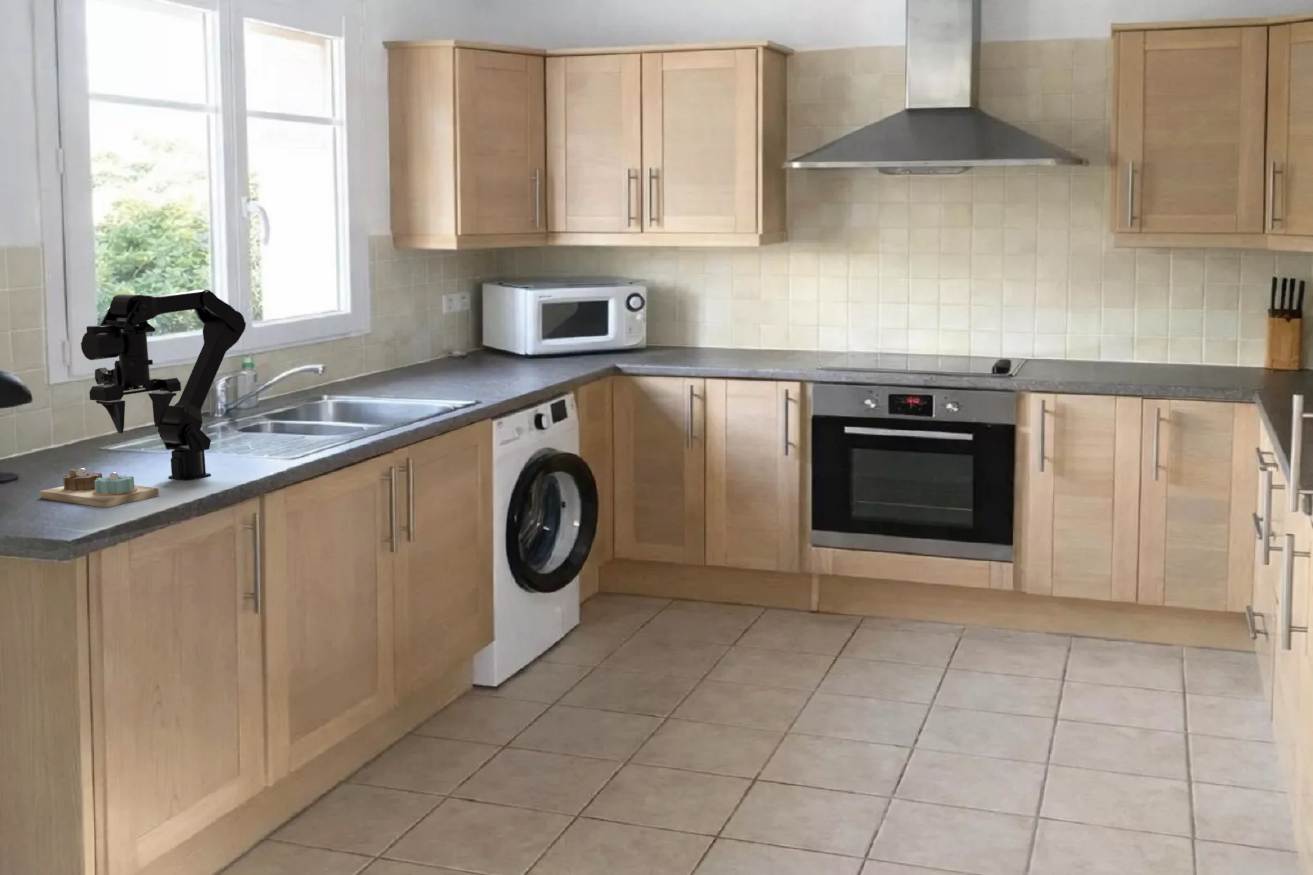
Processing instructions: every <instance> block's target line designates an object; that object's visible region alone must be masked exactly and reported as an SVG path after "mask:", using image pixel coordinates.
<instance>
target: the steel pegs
mask: <svg viewBox="0 0 1313 875" xmlns="http://www.w3.org/2000/svg"><path fill="white" fill-rule="evenodd" d="M77 473H78V477H83V476H87V473H88V472H87V470H86V468H84V467H82V468H80V469H78V471H77ZM109 476H110V480H117V479H118V476H119V474H118V473H117V472H114V471H113V472H111V473H109Z"/></svg>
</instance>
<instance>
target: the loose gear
mask: <svg viewBox="0 0 1313 875" xmlns="http://www.w3.org/2000/svg"><path fill="white" fill-rule="evenodd" d="M134 478H135V477H134V476H133V475H127V474H124V475H123V474H122V475H121V474H120V475H118V479H117V480H110V475H108V476H107V475H106V476H105V477H102V478H97V479H96V480H95V492H96V493H97V494H98V493H103V494H121V493H123V492H131V491H133V489H135V488H134V485H135V479H134Z"/></svg>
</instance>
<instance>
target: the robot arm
mask: <svg viewBox="0 0 1313 875" xmlns="http://www.w3.org/2000/svg"><path fill="white" fill-rule="evenodd" d="M192 310H194V311H195V314H196V316H197V319H198V320H199V321H200V322H201V323H202V324H203V328H202V337H203V345H202V347H201V350H200V352H199V354H198V356H197V359H196V361H195V363H194V366H193V368H192V371H191V373H190V375H189V378H188V379H187V382H186V383H185V386H184V388H183V391H182V385H181V381H180V380H179V378H178V377H173V376H172V377H171V376H161V377H150V376H151V375H150V366H151V365H154V362H153V361H154V360H153V359H149V350H148V337H147V336H148V335H147V333H154V332H156V328H155V327H154V326H152V325H151V324H150V323H149V322H148V321H150V320H153V319H154V318H156V317H157V316H159V315H162V314H169V313H176V312H177V313H178V312H184V311H192ZM246 326H247V323H246V322H245V317H244V315H243V314H242V313H241V312H240V311H239V310H235V308H234V307H233V306H232V305H230V304H228V303H226V302H225V301H223V300H222V299H221V298H219V297H218V296H217V295H216V294H215V293H213V292H212V291H211V290H209V289H193V290H190V291H183V292H175V293H167V294H159V295H146V294H117V295H114V296H113V297H112V300H111V301H110V306H109V308H108V310H107V312H106V314H105V315H104V317H103V319H102V320H101V323H100V325H88V326H86V332H85V333H84V334H83V336H82V339H81V342H80V348H81V352H82V354H83V356H84V357H85V358H86V359H87V360H89V361H95V360H104V359H105V360H106V359H112V358H118V360H114V368H113V369H108V368H107V367H98V368H97V369H95V370H94V379H95V383H96V384H97V385H93V386H91V388H90V390H89V400H90V401H95V403H96V404H100V405H101V406H102V407H104V408H105V409H106V411H107V413H108V414H109V416H110V418H111V420H112V423H113V425H114V427H115V428H116V431H117V433H118V434H123V433H124V428H125V415H126V414H125V413H126V412H125V411H126V410H125V409H126V400H122V399H123V397H124V396H127V395H131V394H132V395H133V394H139V393H146V392H148V393H147V395H148V396H149V398H150V400H151V402H152V414H153V422H154V427H156V428H157V433H159V434H158V435H159V437H160V439H161V440H162V442H163V445H164V447H165V449H166V450H171V457H170V468H171V469H170V472H171V475H168V476H167V477H168V479H171V480H179V481H193V480H198V479H202V478H207V477H211V476H212V473H208V472H207V470H206V469H207V468H206V456H205V451H206V450H210V447H211V442H212V441H211V438H210V437H209V436H208V435H206V433H205V432H203V431H202V427H203V416H202V408H203V406H204V403H205V402H206V399H207V397H208V395H209V392H210V390H211V387H212V385H213V383H214V380H215V378H216V376H217V374H218V371H219V369H220V367H221V364H222V362H223V359H224V358H225V355H226V353H227V351H229V350H230V349H231V348H232V347H233V346H234V345H236V344H237V343H238V342H239V340H240V339H241V337H242V336H243V334H244V332H245V330H246ZM181 391H182V393H181V395H180V396H179V399H178V402H176V403H174V405H171V402H172V400H173V399H174V397H176V396H177V392H181Z"/></svg>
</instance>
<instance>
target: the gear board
mask: <svg viewBox="0 0 1313 875" xmlns="http://www.w3.org/2000/svg"><path fill="white" fill-rule="evenodd" d="M134 488H135V489H133V491H131V492H123V493H121V494H103V493H98V494H97V493H96V492H95V488H94V489H91V490H77V491H71V490H65V489H64V485H63V486H58V487H53V488H47V489H43V490H39V492H40V493H39V494H40V499H45V500H51V501H58V502H63V503H71V504H77V505H83V506H84V505H85V506H90V507H91V506H93V507H98V508H99V507H100V508H108V507H114V506H116V505H117V506H118V505H122V504H126V503H130V502H131V503H132V502H136V501H140V500H145V499H149V498H153V497H158V496H160V493H159V492H160V491H159V490H160V489H159V487H153V486H152V487H150V486H143V485H135V484H134Z"/></svg>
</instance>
